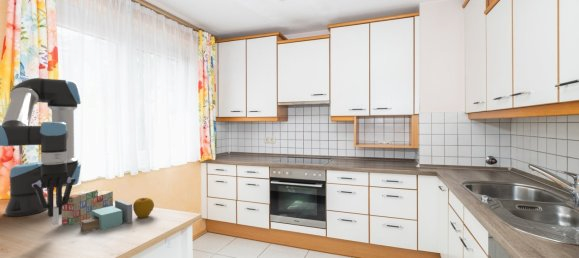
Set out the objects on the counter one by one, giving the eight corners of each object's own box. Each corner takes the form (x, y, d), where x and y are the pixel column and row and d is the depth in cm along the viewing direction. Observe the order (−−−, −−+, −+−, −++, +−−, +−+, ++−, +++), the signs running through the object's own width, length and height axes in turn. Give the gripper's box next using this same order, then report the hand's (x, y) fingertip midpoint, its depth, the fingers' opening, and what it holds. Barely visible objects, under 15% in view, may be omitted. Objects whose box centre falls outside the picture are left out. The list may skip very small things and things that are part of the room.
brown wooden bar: (80, 230, 113) (80, 220, 113) (108, 223, 122) (108, 214, 121) (84, 233, 111) (84, 223, 111) (112, 225, 119) (112, 216, 119)
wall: (115, 217, 128) (115, 200, 128) (119, 216, 130) (119, 199, 130) (127, 223, 121) (127, 205, 121) (132, 222, 123) (132, 204, 123)
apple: (157, 213, 134) (157, 195, 134) (147, 220, 126) (147, 200, 125) (139, 213, 134) (139, 195, 134) (129, 219, 126) (129, 200, 126)
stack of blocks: (102, 208, 141) (102, 184, 141) (113, 209, 140) (113, 185, 140) (61, 224, 120) (61, 195, 120) (74, 225, 119) (73, 196, 119)
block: (91, 224, 120) (91, 210, 120) (111, 219, 126) (111, 205, 126) (101, 229, 114) (101, 215, 114) (122, 224, 120) (122, 210, 120)
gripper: (34, 166, 97) (35, 232, 99) (78, 161, 108) (79, 221, 109) (28, 163, 102) (29, 226, 103) (71, 159, 112) (72, 216, 113)
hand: (55, 224), depth 106 cm, fingers closed
